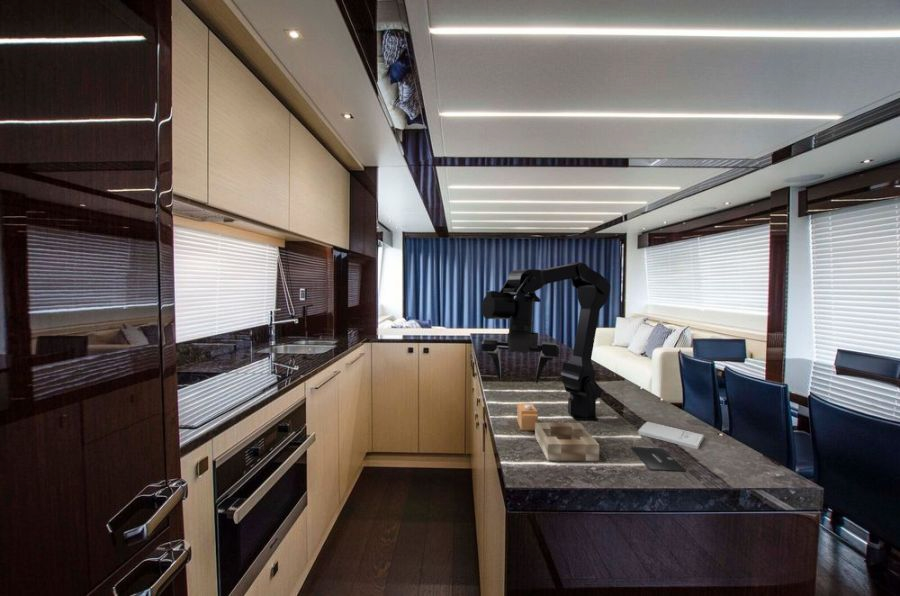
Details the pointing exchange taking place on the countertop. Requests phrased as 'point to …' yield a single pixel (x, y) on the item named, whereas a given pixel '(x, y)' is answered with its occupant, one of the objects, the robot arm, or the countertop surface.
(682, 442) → the external hard drive
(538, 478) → the countertop surface
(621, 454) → the countertop surface
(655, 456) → the solid state drive
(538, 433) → the beige notched square frame
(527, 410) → the block
